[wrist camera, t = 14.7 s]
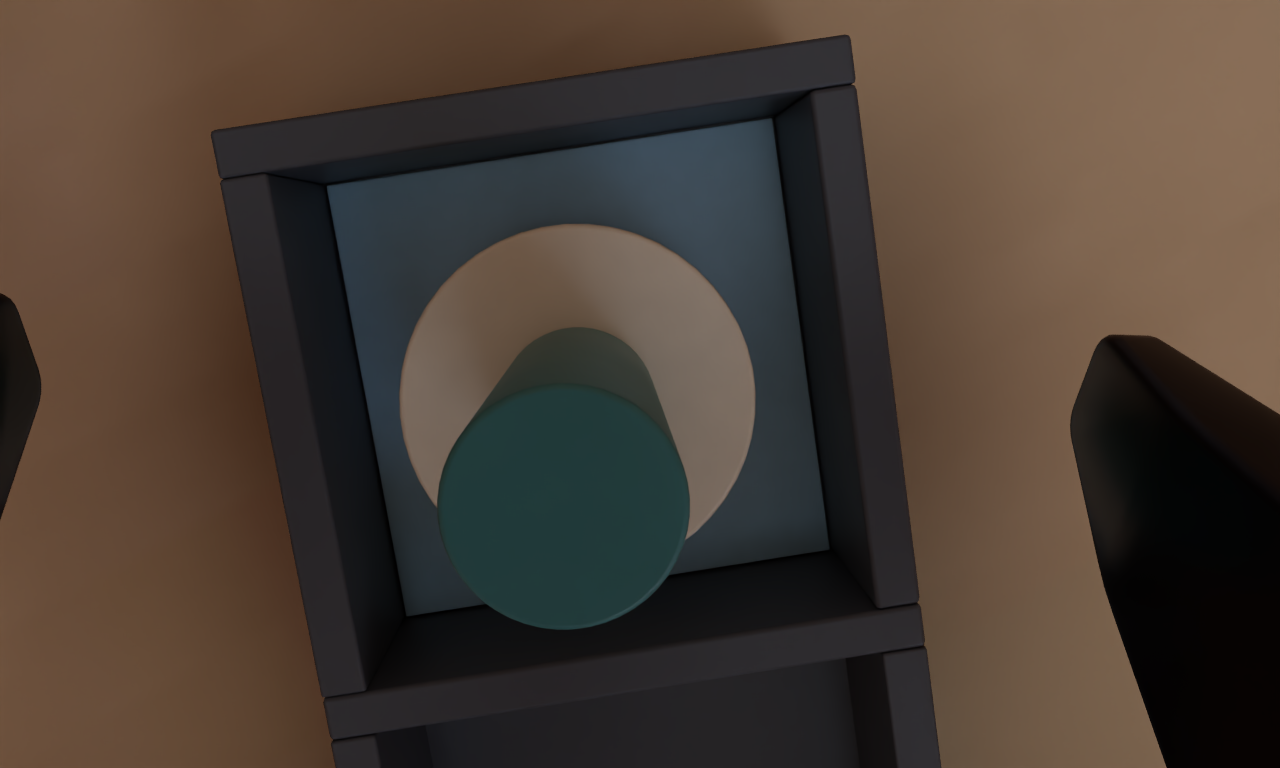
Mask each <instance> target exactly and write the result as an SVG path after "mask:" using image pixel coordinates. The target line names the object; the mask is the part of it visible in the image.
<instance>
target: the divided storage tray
mask: <svg viewBox="0 0 1280 768" xmlns="http://www.w3.org/2000/svg"><path fill="white" fill-rule="evenodd" d="M854 82H855V71H854V63H853V55H852V47H851V39H850V37H849V35H839V36H833V37H826V38H819V39H813V40H806V41H800V42H793V43H786V44H780V45H773V46H767V47H760V48H753V49H747V50H740V51H733V52H727V53H720V54H714V55H707V56H700V57H694V58H687V59H681V60H674V61H667V62H661V63H654V64H648V65H641V66H634V67H628V68H621V69H615V70H608V71H601V72H595V73H588V74H582V75H575V76H568V77H562V78H555V79H548V80H542V81H535V82H529V83H522V84H515V85H509V86H502V87H496V88H489V89H482V90H476V91H469V92H463V93H456V94H449V95H443V96H436V97H430V98H423V99H416V100H410V101H403V102H397V103H390V104H383V105H377V106H370V107H363V108H357V109H350V110H344V111H337V112H330V113H324V114H317V115H311V116H304V117H297V118H291V119H284V120H278V121H271V122H264V123H258V124H251V125H245V126H238V127H231V128H225V129H218V130H214V131H212V132H211V138H212V143H213V148H214V153H215V158H216V164H217V169H218V174H219V176H220V178H222V179H223V180H221V183H220V185H221V190H222V195H223V200H224V205H225V210H226V215H227V220H228V225H229V230H230V235H231V241H232V246H233V251H234V256H235V261H236V266H237V271H238V276H239V281H240V286H241V291H242V296H243V301H244V306H245V311H246V316H247V321H248V326H249V332H250V337H251V342H252V347H253V352H254V357H255V362H256V367H257V372H258V377H259V382H260V387H261V392H262V397H263V402H264V407H265V412H266V417H267V423H268V428H269V433H270V438H271V443H272V448H273V453H274V458H275V463H276V468H277V473H278V478H279V483H280V488H281V493H282V498H283V503H284V508H285V514H286V519H287V524H288V529H289V534H290V539H291V544H292V549H293V554H294V559H295V564H296V569H297V574H298V579H299V584H300V589H301V594H302V599H303V605H304V610H305V615H306V620H307V625H308V630H309V635H310V640H311V645H312V650H313V655H314V660H315V665H316V670H317V675H318V680H319V685H320V690H321V695H322V697H325V698H324V702H323V703H324V708H325V713H326V718H327V723H328V728H329V733H330V736H331V738H332V739H333V741H332V743H331V746H332V751H333V756H334V761H335V766H336V768H941V762H940V754H939V745H938V737H937V729H936V721H935V713H934V705H933V697H932V689H931V681H930V673H929V665H928V657H927V649H926V647H925V646H924V642H925V638H924V630H923V622H922V613H921V607H920V605H919V604H918V603H917V602H918V601H919V589H918V581H917V573H916V565H915V557H914V549H913V541H912V533H911V525H910V517H909V509H908V501H907V493H906V485H905V477H904V469H903V460H902V452H901V444H900V436H899V428H898V420H897V412H896V404H895V396H894V388H893V380H892V372H891V364H890V356H889V348H888V340H887V332H886V323H885V315H884V307H883V299H882V291H881V283H880V275H879V267H878V259H877V251H876V243H875V235H874V227H873V219H872V211H871V203H870V194H869V186H868V178H867V170H866V162H865V154H864V146H863V138H862V130H861V122H860V114H859V106H858V98H857V90H856V88H855V86H854V85H851V84H852V83H854ZM561 224H594V225H601V226H609V227H614V228H618V229H622V230H625V231H629V232H633V233H636V234H639V235H641V236H643V237H646V238H648V239H651V240H653V241H655V242H658V243H659V244H661V245H663V246H665V247H666V248H668V249H670V250H671V251H673V252H675V253H676V254H678V255H679V256H681V257H682V258H683V259H685V260H686V261H687V262H688V263H690V264H691V265H692V266H694V267H695V268H696V269H697V270H698V271H699V272H700V273H701V274H702V275H703V276H704V277H705V278H706V279H707V280H708V281H709V282H710V283H711V284H712V285H713V286H714V287H715V289H716V290H717V291H718V293H719V294H720V295H721V297H722V298H723V299H724V301H725V302H726V303H727V305H728V307H729V308H730V310H731V312H732V314H733V315H734V317H735V319H736V321H737V323H738V324H739V327H740V329H741V332H742V334H743V337H744V339H745V342H746V344H747V347H748V351H749V355H750V359H751V363H752V367H753V373H754V382H755V390H756V399H755V420H754V426H753V433H752V438H751V442H750V446H749V449H748V453H747V456H746V459H745V462H744V464H743V466H742V469H741V471H740V473H739V476H738V478H737V480H736V482H735V483H734V485H733V487H732V488H731V490H730V492H729V493H728V495H727V497H726V498H725V500H724V501H723V503H722V504H721V505H720V506H719V508H718V509H717V510H716V511H715V513H714V514H713V515H712V516H711V518H710V519H709V520H708V521H707V522H705V523H704V524H703V525H702V526H701V527H700V528H699V529H698V530H697V531H696V532H695V533H694V534H693V535H691V536H690V537H689V538H688V539H686V540H685V542H684V546H683V548H682V551H681V553H680V555H679V558H678V560H677V562H676V564H675V565H674V567H673V569H672V571H671V572H670V574H669V575H668V577H667V578H666V579H665V581H664V582H663V583H662V584H661V586H660V587H659V588H658V589H657V590H656V591H655V592H654V593H653V594H652V595H651V596H650V597H649V598H648V599H647V600H645V601H644V602H643V603H641V604H640V605H639V606H637V607H636V608H635V609H633V610H631V611H630V612H628V613H626V614H624V615H622V616H621V617H618V618H616V619H614V620H611V621H609V622H606V623H603V624H600V625H596V626H592V627H587V628H580V629H569V630H556V629H547V628H540V627H536V626H532V625H527V624H524V623H521V622H519V621H516V620H514V619H511V618H509V617H507V616H505V615H503V614H501V613H499V612H498V611H496V610H494V609H493V608H491V607H490V606H489V605H487V604H486V603H485V602H483V601H482V600H481V599H480V598H479V597H478V596H476V595H475V594H474V593H473V592H472V591H471V590H470V589H469V588H468V586H467V585H466V584H465V583H464V581H463V580H462V579H461V578H460V576H459V575H458V573H457V572H456V570H455V568H454V567H453V565H452V564H451V562H450V559H449V557H448V555H447V553H446V550H445V548H444V545H443V541H442V538H441V535H440V530H439V524H438V517H437V507H436V506H435V505H434V504H433V502H432V501H431V499H430V498H429V496H428V495H427V493H426V491H425V490H424V488H423V486H422V485H421V483H420V482H419V479H418V477H417V475H416V473H415V470H414V468H413V466H412V464H411V462H410V459H409V455H408V452H407V449H406V445H405V442H404V439H403V433H402V426H401V420H400V404H399V390H400V380H401V371H402V366H403V362H404V358H405V354H406V350H407V346H408V343H409V341H410V338H411V336H412V333H413V331H414V328H415V326H416V324H417V322H418V320H419V318H420V317H421V315H422V313H423V311H424V309H425V308H426V306H427V304H428V303H429V301H430V300H431V299H432V297H433V296H434V295H435V293H436V292H437V291H438V289H439V288H440V287H441V285H442V284H443V283H444V282H445V281H446V280H447V279H448V278H449V277H450V276H451V275H452V274H453V273H454V272H455V271H456V270H457V269H458V268H459V267H461V266H462V265H463V264H465V263H466V262H467V261H468V260H470V259H471V258H472V257H474V256H475V255H476V254H478V253H479V252H481V251H483V250H485V249H486V248H488V247H490V246H491V245H493V244H495V243H497V242H499V241H501V240H504V239H506V238H508V237H511V236H513V235H516V234H518V233H521V232H525V231H529V230H532V229H536V228H540V227H545V226H553V225H561Z"/></svg>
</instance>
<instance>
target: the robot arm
mask: <svg viewBox="0 0 1280 768" xmlns="http://www.w3.org/2000/svg"><path fill="white" fill-rule="evenodd" d="M40 396H41V378H40V373H39V369H38V367H37V364H36V361H35V358H34V355H33V352H32V349H31V347H30V344H29V341H28V338H27V335H26V332H25V329H24V327H23V324H22V321H21V318H20V315H19V312H18V310H17V308H16V306H15V304H14V303H13V302H12V300H11V299H10V298H8V297H7V296H5V295H3V294H1V293H0V519H1V516H2V513H3V510H4V507H5V504H6V501H7V498H8V495H9V492H10V489H11V486H12V483H13V480H14V477H15V474H16V471H17V468H18V465H19V462H20V459H21V456H22V453H23V450H24V447H25V444H26V441H27V438H28V435H29V432H30V429H31V426H32V423H33V420H34V418H35V415H36V412H37V409H38V405H39V402H40ZM1070 431H1071V439H1072V444H1073V449H1074V453H1075V458H1076V463H1077V467H1078V472H1079V476H1080V481H1081V486H1082V490H1083V495H1084V500H1085V504H1086V509H1087V513H1088V518H1089V523H1090V527H1091V532H1092V536H1093V541H1094V546H1095V550H1096V555H1097V559H1098V564H1099V568H1100V572H1101V576H1102V580H1103V584H1104V588H1105V591H1106V594H1107V597H1108V600H1109V603H1110V606H1111V609H1112V613H1113V615H1114V618H1115V621H1116V624H1117V627H1118V630H1119V633H1120V635H1121V638H1122V641H1123V644H1124V647H1125V650H1126V653H1127V655H1128V658H1129V661H1130V664H1131V667H1132V670H1133V673H1134V676H1135V678H1136V681H1137V684H1138V687H1139V690H1140V693H1141V696H1142V698H1143V701H1144V704H1145V707H1146V710H1147V713H1148V716H1149V718H1150V721H1151V724H1152V727H1153V730H1154V733H1155V736H1156V738H1157V741H1158V744H1159V747H1160V750H1161V753H1162V756H1163V758H1164V761H1165V764H1166V767H1167V768H1280V414H1278V413H1276V412H1275V411H1273V410H1272V409H1270V408H1268V407H1267V406H1265V405H1264V404H1262V403H1260V402H1259V401H1257V400H1256V399H1254V398H1252V397H1251V396H1249V395H1248V394H1246V393H1244V392H1243V391H1241V390H1240V389H1238V388H1236V387H1235V386H1233V385H1232V384H1230V383H1228V382H1227V381H1225V380H1224V379H1222V378H1220V377H1219V376H1217V375H1216V374H1214V373H1212V372H1211V371H1209V370H1208V369H1206V368H1204V367H1203V366H1201V365H1200V364H1198V363H1197V362H1195V361H1193V360H1192V359H1190V358H1189V357H1187V356H1185V355H1184V354H1182V353H1181V352H1179V351H1177V350H1176V349H1174V348H1173V347H1171V346H1169V345H1168V344H1166V343H1165V342H1163V341H1161V340H1160V339H1158V338H1156V337H1152V336H1141V335H1109V336H1107V337H1105V338H1103V339H1102V340H1101V341H1100V342H1099V344H1098V345H1097V347H1096V349H1095V351H1094V353H1093V356H1092V358H1091V361H1090V364H1089V366H1088V369H1087V372H1086V374H1085V377H1084V380H1083V382H1082V385H1081V388H1080V391H1079V393H1078V396H1077V399H1076V401H1075V404H1074V407H1073V410H1072V415H1071V423H1070Z"/></svg>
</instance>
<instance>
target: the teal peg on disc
mask: <svg viewBox="0 0 1280 768" xmlns="http://www.w3.org/2000/svg"><path fill="white" fill-rule="evenodd" d="M755 399H756V390H755V382H754V373H753V367H752V363H751V359H750V355H749V351H748V347H747V344H746V342H745V339H744V337H743V334H742V332H741V329H740V327H739V324H738V323H737V321H736V319H735V317H734V315H733V314H732V312H731V310H730V308H729V307H728V305H727V303H726V302H725V301H724V299H723V298H722V297H721V295H720V294H719V293H718V291H717V290H716V289H715V287H714V286H713V285H712V284H711V283H710V282H709V281H708V280H707V279H706V278H705V277H704V276H703V275H702V274H701V273H700V272H699V271H698V270H697V269H696V268H695V267H694V266H692V265H691V264H690V263H688V262H687V261H686V260H685V259H683V258H682V257H681V256H679V255H678V254H676V253H675V252H673V251H671V250H670V249H668V248H666V247H665V246H663V245H661V244H659V243H658V242H655V241H653V240H651V239H648V238H646V237H643V236H641V235H639V234H636V233H633V232H629V231H625V230H622V229H618V228H614V227H609V226H601V225H594V224H561V225H553V226H545V227H540V228H536V229H532V230H529V231H525V232H521V233H518V234H516V235H513V236H511V237H508V238H506V239H504V240H501V241H499V242H497V243H495V244H493V245H491V246H490V247H488V248H486V249H485V250H483V251H481V252H479V253H478V254H476V255H475V256H474V257H472V258H471V259H470V260H468V261H467V262H466V263H465V264H463V265H462V266H461V267H459V268H458V269H457V270H456V271H455V272H454V273H453V274H452V275H451V276H450V277H449V278H448V279H447V280H446V281H445V282H444V283H443V284H442V285H441V287H440V288H439V289H438V291H437V292H436V293H435V295H434V296H433V297H432V299H431V300H430V301H429V303H428V304H427V306H426V308H425V309H424V311H423V313H422V315H421V317H420V318H419V320H418V322H417V324H416V326H415V328H414V331H413V333H412V336H411V338H410V341H409V343H408V346H407V350H406V354H405V358H404V362H403V366H402V371H401V380H400V390H399V404H400V420H401V426H402V433H403V439H404V442H405V445H406V449H407V452H408V455H409V459H410V462H411V464H412V466H413V468H414V470H415V473H416V475H417V477H418V479H419V482H420V483H421V485H422V486H423V488H424V490H425V491H426V493H427V495H428V496H429V498H430V499H431V501H432V502H433V504H434V505H435V506H436V507H437V517H438V524H439V530H440V535H441V538H442V541H443V545H444V548H445V550H446V553H447V555H448V557H449V559H450V562H451V564H452V565H453V567H454V568H455V570H456V572H457V573H458V575H459V576H460V578H461V579H462V580H463V581H464V583H465V584H466V585H467V586H468V588H469V589H470V590H471V591H472V592H473V593H474V594H475V595H476V596H478V597H479V598H480V599H481V600H482V601H483V602H485V603H486V604H487V605H489V606H490V607H491V608H493V609H494V610H496V611H498V612H499V613H501V614H503V615H505V616H507V617H509V618H511V619H514V620H516V621H519V622H521V623H524V624H527V625H532V626H536V627H540V628H547V629H556V630H569V629H580V628H587V627H592V626H596V625H600V624H603V623H606V622H609V621H611V620H614V619H616V618H618V617H621V616H622V615H624V614H626V613H628V612H630V611H631V610H633V609H635V608H636V607H637V606H639V605H640V604H641V603H643V602H644V601H645V600H647V599H648V598H649V597H650V596H651V595H652V594H653V593H654V592H655V591H656V590H657V589H658V588H659V587H660V586H661V584H662V583H663V582H664V581H665V579H666V578H667V577H668V575H669V574H670V572H671V571H672V569H673V567H674V565H675V564H676V562H677V560H678V558H679V555H680V553H681V551H682V548H683V546H684V542H685V540H686V539H688V538H689V537H690V536H691V535H693V534H694V533H695V532H696V531H697V530H698V529H699V528H700V527H701V526H702V525H703V524H704V523H705V522H707V521H708V520H709V519H710V518H711V516H712V515H713V514H714V513H715V511H716V510H717V509H718V508H719V506H720V505H721V504H722V503H723V501H724V500H725V498H726V497H727V495H728V493H729V492H730V490H731V488H732V487H733V485H734V483H735V482H736V480H737V478H738V476H739V473H740V471H741V469H742V466H743V464H744V462H745V459H746V456H747V453H748V449H749V446H750V442H751V438H752V433H753V426H754V420H755Z"/></svg>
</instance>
